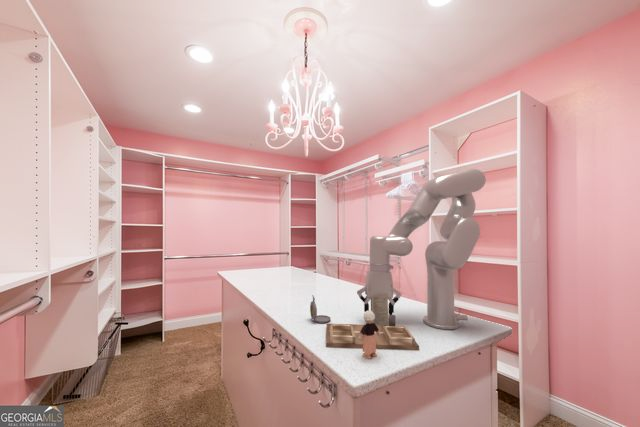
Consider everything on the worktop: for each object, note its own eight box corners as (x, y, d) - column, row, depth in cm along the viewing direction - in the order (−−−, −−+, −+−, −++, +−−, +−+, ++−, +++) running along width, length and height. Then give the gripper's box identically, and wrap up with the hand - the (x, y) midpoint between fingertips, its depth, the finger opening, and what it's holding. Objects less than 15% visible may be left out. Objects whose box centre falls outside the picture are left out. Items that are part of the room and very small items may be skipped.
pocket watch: (333, 320, 103) (334, 294, 103) (319, 326, 96) (320, 298, 97) (318, 315, 108) (318, 290, 109) (303, 321, 102) (304, 294, 102)
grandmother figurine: (371, 349, 79) (371, 306, 80) (381, 354, 76) (382, 309, 77) (354, 357, 74) (355, 312, 74) (365, 363, 71) (366, 315, 72)
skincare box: (386, 322, 102) (386, 290, 103) (388, 326, 98) (388, 292, 99) (369, 321, 103) (370, 289, 104) (370, 325, 99) (371, 292, 99)
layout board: (403, 329, 95) (403, 313, 96) (419, 350, 79) (419, 330, 80) (326, 326, 96) (326, 311, 96) (326, 347, 80) (326, 327, 80)
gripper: (399, 267, 105) (399, 311, 104) (355, 266, 106) (354, 310, 105) (405, 270, 97) (404, 318, 97) (357, 269, 98) (357, 316, 97)
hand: (378, 313), depth 101 cm, fingers open, 8 cm apart
